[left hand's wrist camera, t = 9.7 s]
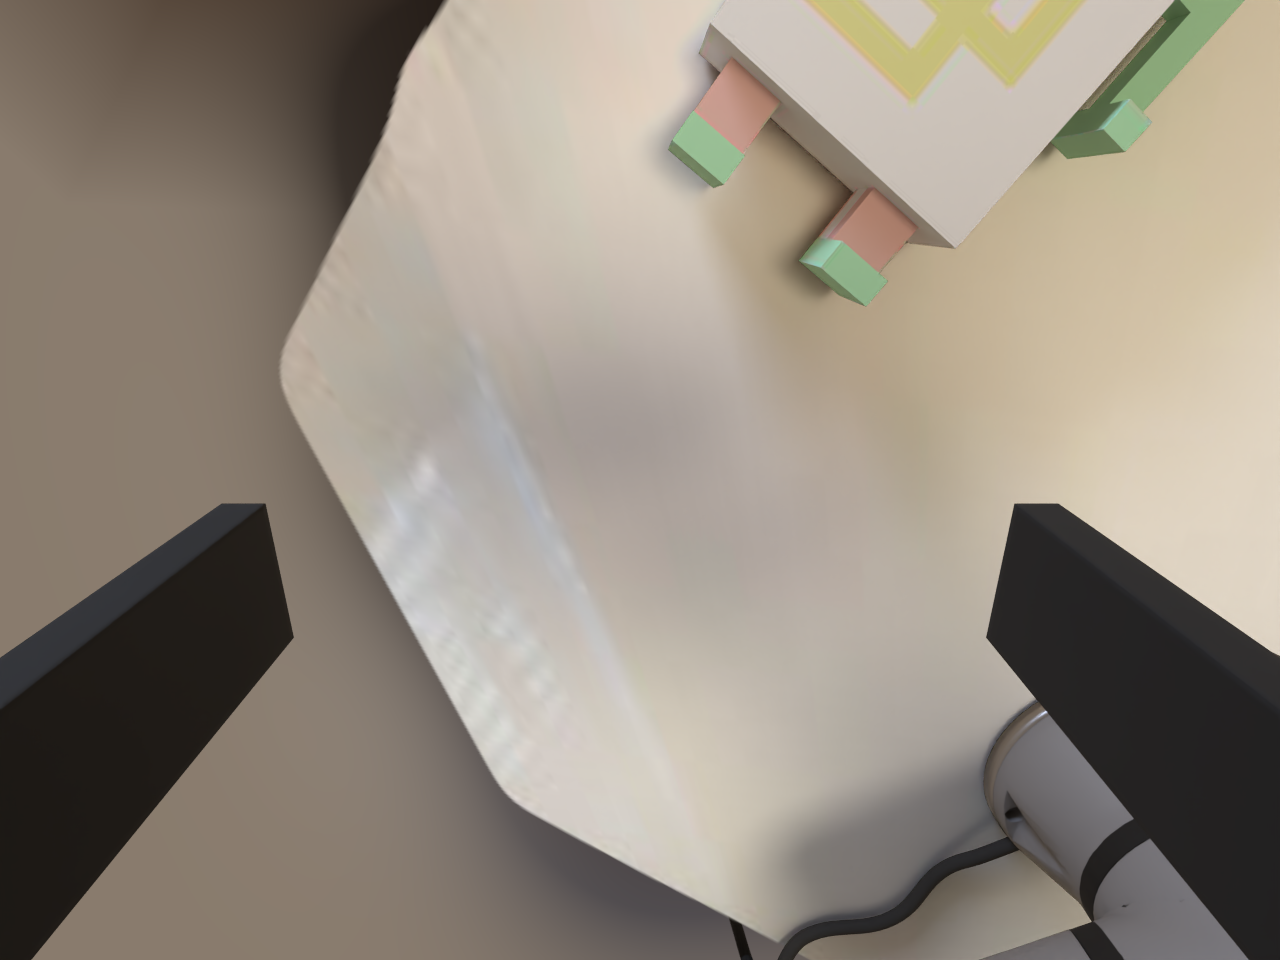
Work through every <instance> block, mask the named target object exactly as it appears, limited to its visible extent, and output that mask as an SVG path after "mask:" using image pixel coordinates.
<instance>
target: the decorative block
mask: <svg viewBox="0 0 1280 960" xmlns="http://www.w3.org/2000/svg"><path fill="white" fill-rule="evenodd" d="M1243 2H1244V0H726V1H725V2H724V4H723V5H722V6H721V8H720V9H719V11H718V12H717V14H716V15H715V17H714V18H713V20H712V21H711V23H710V25H709V28H708V30H707V33H706V36H705V38H704V41H703V44H702V46H701V49H700V52H699V54H700V55H701V56H703V57H704V58H705V59H706V60H707V61H708V62H709V63H710V64H711V65H713V66H714V67H715V68H716V69H717V70H718V71H719V72H720V74H719V76H718V77H717V79H716V80H715V82H714V83H713V84H712V86H711V87H710V89H709V90H708V92H707V93H706V94H705V96H704V97H703V99H702V100H701V101H700V103H699V104H698V106H697V107H696V109H695V110H693V111H692V113H691V114H690V116H689V117H688V119H687V120H686V121H685V123H684V124H683V126H682V127H681V128H680V130H679V131H678V133H677V134H676V136H675V137H674V138H673V140H672V142H671V144H670V146H669V149H668V150H669V151H670V152H672V153H673V154H674V155H675V156H676V157H678V158H679V159H680V160H681V161H682V162H683V163H685V164H686V165H687V166H688V167H689V168H690V169H692V170H693V171H694V172H695V173H696V174H697V175H699V176H700V177H701V178H702V179H703V180H704V181H706V182H707V183H708V184H709V185H710V186H712V187H713V188H714V187H717V186H720V185H723V184H724V183H725V182H726V181H727V179H728V178H729V177H730V175H731V174H732V173H733V171H734V170H735V169H736V167H737V166H738V164H739V163H740V162H741V160H742V159H743V158H744V156H745V155H744V154H743V153H744V152H745V151H746V149H747V148H748V146H749V145H750V144H751V142H752V141H753V140H754V138H755V137H756V136H757V134H758V133H759V132H760V130H761V129H762V128H763V126H764V125H765V124H766V122H767V121H768V119H769V118H771V119H772V120H773V121H775V122H776V123H777V124H778V125H779V126H780V127H781V128H782V129H783V130H785V131H786V132H787V133H788V134H789V135H790V136H791V137H792V138H793V139H795V140H796V141H797V142H798V143H799V144H800V145H801V146H802V147H803V148H805V149H806V150H807V151H808V152H809V153H810V154H811V155H812V156H813V157H815V158H816V159H817V160H818V161H819V162H820V163H821V164H822V165H823V166H824V167H826V168H827V169H828V170H829V171H830V172H831V173H832V174H833V175H834V176H836V177H837V178H838V179H839V180H840V181H841V182H842V183H843V184H844V185H846V186H847V187H848V188H849V189H850V190H851V191H852V192H853V194H852V195H851V197H850V198H849V199H848V200H847V202H846V203H845V204H844V205H843V207H842V208H841V209H840V210H839V211H838V213H837V214H836V215H835V216H834V218H833V219H832V220H831V221H830V223H829V224H828V225H827V226H826V228H825V229H824V230H823V231H822V233H821V234H820V235H819V236H818V237H817V239H816V240H815V241H814V242H813V244H812V245H811V246H810V247H809V249H808V250H807V251H806V252H805V254H804V255H803V256H802V257H801V259H800V260H799V261H800V262H801V263H802V264H803V265H804V266H805V267H807V268H808V269H809V270H810V271H811V272H812V273H814V274H815V275H816V276H817V277H818V278H819V279H821V280H822V281H823V282H824V283H825V284H826V285H828V286H829V287H830V288H831V289H832V290H834V291H835V292H836V293H837V294H838V295H840V296H842V297H844V298H847V299H849V300H852V301H854V302H856V303H859V304H861V305H864V306H867V305H868V304H869V303H870V301H871V300H872V299H873V298H874V297H875V296H876V294H877V293H878V292H879V291H880V290H881V289H882V288H883V286H884V285H885V284H886V283H887V282H888V281H887V280H886V279H885V278H884V277H883V276H882V275H881V274H879V273H880V272H881V271H882V270H883V268H884V267H885V266H886V265H887V264H888V263H889V261H890V260H891V259H892V258H893V257H894V256H895V254H896V253H897V252H898V251H899V250H900V249H901V247H902V246H903V245H904V244H905V243H906V241H908V242H909V243H910V244H919V245H928V246H937V247H945V248H954V249H956V248H957V247H958V246H959V245H960V243H961V242H962V241H963V240H964V239H965V238H966V237H967V236H968V234H969V233H970V232H971V231H972V230H973V229H974V228H975V226H976V225H977V224H978V223H979V222H980V221H981V220H982V218H983V217H984V216H985V215H986V214H987V213H988V212H989V211H990V209H991V208H992V207H993V206H994V205H995V204H996V203H997V201H998V200H999V199H1000V198H1001V197H1002V196H1003V195H1004V194H1005V192H1006V191H1007V190H1008V189H1009V188H1010V187H1011V186H1012V184H1013V183H1014V182H1015V181H1016V180H1017V179H1018V178H1019V176H1020V175H1021V174H1022V173H1023V172H1024V171H1025V170H1026V169H1027V167H1028V166H1029V165H1030V164H1031V163H1032V162H1033V161H1034V159H1035V158H1036V157H1037V156H1038V155H1039V154H1040V153H1041V151H1042V150H1043V149H1044V148H1045V147H1046V146H1047V145H1048V144H1049V142H1051V143H1052V144H1053V145H1054V146H1055V147H1056V148H1057V149H1058V150H1059V151H1060V152H1061V153H1062V154H1063V155H1064V156H1065V157H1066V158H1067V159H1072V158H1080V157H1088V156H1096V155H1104V154H1112V153H1120V152H1125V151H1126V150H1127V149H1128V148H1129V147H1130V146H1131V145H1132V144H1133V143H1134V142H1135V140H1136V139H1137V138H1138V137H1139V136H1140V135H1141V134H1142V133H1143V132H1144V131H1145V130H1146V128H1147V127H1148V126H1149V125H1150V124H1151V123H1152V121H1151V120H1150V119H1149V118H1148V117H1147V116H1146V115H1145V114H1144V113H1143V111H1144V110H1145V109H1146V108H1147V107H1148V106H1149V105H1150V104H1151V103H1152V101H1153V100H1154V99H1155V98H1156V97H1157V96H1158V95H1159V94H1160V93H1161V92H1162V90H1163V89H1164V88H1165V87H1166V86H1167V85H1168V84H1169V83H1170V82H1171V81H1172V79H1173V78H1174V77H1175V76H1176V75H1177V74H1178V73H1179V72H1180V71H1181V70H1182V68H1183V67H1184V66H1185V65H1186V64H1187V63H1188V62H1189V61H1190V60H1191V59H1192V58H1193V56H1194V55H1195V54H1196V53H1197V52H1198V51H1199V50H1200V49H1201V48H1202V47H1203V45H1204V44H1205V43H1206V42H1207V41H1208V40H1209V39H1210V38H1211V37H1212V36H1213V34H1214V33H1215V32H1216V31H1217V30H1218V29H1219V28H1220V27H1221V26H1222V25H1223V24H1224V22H1225V21H1226V20H1227V19H1228V18H1229V17H1230V16H1231V15H1232V14H1233V13H1234V11H1235V10H1236V9H1237V8H1238V7H1239V6H1240V5H1241V4H1242V3H1243ZM1161 15H1162V17H1163V18H1164V19H1165V20H1166V23H1165V24H1164V25H1163V26H1162V27H1161V28H1160V29H1159V30H1158V32H1157V33H1156V34H1155V35H1154V36H1153V37H1152V38H1151V39H1150V41H1149V42H1148V43H1147V44H1146V45H1145V46H1144V47H1143V49H1142V50H1141V51H1140V52H1139V53H1138V54H1137V55H1136V56H1135V58H1134V59H1133V60H1132V61H1131V62H1130V63H1129V64H1128V65H1127V67H1126V68H1125V69H1124V70H1123V71H1122V72H1121V73H1120V74H1119V76H1118V77H1117V78H1116V79H1115V80H1114V81H1113V82H1112V84H1111V85H1110V86H1109V87H1108V88H1107V89H1106V90H1105V91H1104V93H1103V94H1102V95H1101V96H1100V97H1099V98H1098V99H1097V100H1096V102H1095V103H1094V104H1093V105H1092V106H1091V107H1090V108H1089V109H1085V110H1081V111H1078V109H1079V108H1080V107H1081V106H1082V105H1083V104H1084V103H1085V102H1086V100H1087V99H1088V98H1089V97H1090V96H1091V95H1092V94H1093V92H1094V91H1095V90H1096V89H1097V88H1098V87H1099V86H1100V84H1101V83H1102V82H1103V81H1104V80H1105V79H1106V78H1107V77H1108V75H1109V74H1110V73H1111V72H1112V71H1113V70H1114V69H1115V67H1116V66H1117V65H1118V64H1119V63H1120V62H1121V61H1122V59H1123V58H1124V57H1125V56H1126V55H1127V54H1128V53H1129V52H1130V50H1131V49H1132V48H1133V47H1134V46H1135V45H1136V44H1137V42H1138V41H1139V40H1140V39H1141V38H1142V37H1143V36H1144V35H1145V33H1146V32H1147V31H1148V30H1149V29H1150V28H1151V27H1152V25H1153V24H1154V23H1155V22H1156V21H1157V20H1158V19H1159V17H1160V16H1161Z"/></svg>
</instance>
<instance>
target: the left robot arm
mask: <svg viewBox="0 0 1280 960" xmlns="http://www.w3.org/2000/svg"><path fill="white" fill-rule="evenodd" d="M293 638H294V636H293V632H292V627H291V622H290V617H289V613H288V608H287V603H286V598H285V594H284V589H283V584H282V580H281V575H280V570H279V565H278V561H277V556H276V551H275V546H274V542H273V537H272V532H271V528H270V523H269V518H268V513H267V509H266V504H221V505H219V506H218V507H216V508H215V509H213V510H212V511H210V512H209V513H208V514H206V515H205V516H203V517H202V518H200V519H199V520H198V521H196V522H195V523H193V524H192V525H190V526H189V527H188V528H186V529H185V530H183V531H182V532H180V533H179V534H177V535H176V536H175V537H173V538H172V539H170V540H169V541H167V542H166V543H164V544H163V545H162V546H160V547H159V548H157V549H156V550H154V551H153V552H152V553H150V554H149V555H147V556H146V557H144V558H143V559H141V560H140V561H139V562H137V563H136V564H134V565H133V566H131V567H130V568H129V569H127V570H126V571H124V572H123V573H121V574H120V575H119V576H117V577H116V578H114V579H113V580H111V581H110V582H108V583H107V584H106V585H104V586H103V587H101V588H100V589H98V590H97V591H95V592H94V593H93V594H91V595H90V596H88V597H87V598H85V599H84V600H83V601H81V602H80V603H78V604H77V605H75V606H74V607H73V608H71V609H70V610H68V611H67V612H65V613H64V614H63V615H61V616H60V617H58V618H57V619H55V620H54V621H52V622H51V623H50V624H48V625H47V626H45V627H44V628H42V629H41V630H40V631H38V632H37V633H35V634H34V635H32V636H31V637H29V638H28V639H27V640H25V641H24V642H22V643H21V644H19V645H18V646H16V647H15V648H14V649H12V650H11V651H9V652H8V653H6V654H5V655H4V656H2V657H1V658H0V960H31V959H32V958H33V957H34V956H35V955H36V953H37V952H38V951H39V950H40V948H41V947H42V946H43V945H44V944H45V942H46V941H47V940H48V939H49V937H50V936H51V935H52V934H53V932H54V931H55V930H56V929H57V928H58V926H59V925H60V924H61V923H62V921H63V920H64V919H65V918H66V917H67V915H68V914H69V913H70V912H71V910H72V909H73V908H74V907H75V905H76V904H77V903H78V902H79V901H80V899H81V898H82V897H83V896H84V894H85V893H86V892H87V891H88V890H89V888H90V887H91V886H92V885H93V883H94V882H95V881H96V880H97V878H98V877H99V876H100V875H101V874H102V872H103V871H104V870H105V869H106V867H107V866H108V865H109V864H110V862H111V861H112V860H113V859H114V858H115V856H116V855H117V854H118V853H119V851H120V850H121V849H122V848H123V847H124V845H125V844H126V843H127V842H128V840H129V839H130V838H131V837H132V835H133V834H134V833H135V832H136V831H137V829H138V828H139V827H140V826H141V824H142V823H143V822H144V821H145V819H146V818H147V817H148V816H149V815H150V813H151V812H152V811H153V810H154V808H155V807H156V806H157V805H158V804H159V802H160V801H161V800H162V799H163V797H164V796H165V795H166V794H167V793H168V791H169V790H170V789H171V788H172V786H173V785H174V784H175V783H176V781H177V780H178V779H179V778H180V777H181V775H182V774H183V773H184V772H185V770H186V769H187V768H188V767H189V765H190V764H191V763H192V762H193V761H194V759H195V758H196V757H197V756H198V754H199V753H200V752H201V751H202V750H203V748H204V747H205V746H206V745H207V743H208V742H209V741H210V740H211V739H212V737H213V736H214V735H215V734H216V732H217V731H218V730H219V729H220V727H221V726H222V725H223V724H224V723H225V721H226V720H227V719H228V718H229V716H230V715H231V714H232V713H233V712H234V710H235V709H236V708H237V707H238V705H239V704H240V703H241V702H242V700H243V699H244V698H245V697H246V696H247V694H248V693H249V692H250V691H251V689H252V688H253V687H254V686H255V684H256V683H257V682H258V681H259V680H260V678H261V677H262V676H263V675H264V673H265V672H266V671H267V670H268V669H269V667H270V666H271V665H272V664H273V662H274V661H275V660H276V659H277V658H278V656H279V655H280V654H281V653H282V651H283V650H284V649H285V648H286V646H287V645H288V644H289V643H290V642H291V640H292V639H293ZM986 638H987V639H988V640H989V642H990V643H991V644H992V645H993V646H994V648H995V649H996V650H997V651H998V653H999V654H1000V655H1001V656H1002V658H1003V659H1004V660H1005V661H1006V662H1007V664H1008V665H1009V666H1010V667H1011V669H1012V670H1013V671H1014V672H1015V673H1016V675H1017V676H1018V677H1019V678H1020V680H1021V681H1022V682H1023V683H1024V685H1025V686H1026V687H1027V688H1028V689H1029V691H1030V692H1031V693H1032V694H1033V696H1034V697H1035V698H1036V699H1037V700H1038V702H1037V703H1036V704H1034V705H1033V706H1031V707H1030V708H1028V709H1027V710H1026V711H1024V712H1023V713H1022V714H1021V715H1019V716H1018V717H1017V718H1016V719H1015V720H1014V721H1013V722H1012V723H1011V724H1010V725H1009V726H1008V727H1007V728H1006V729H1005V731H1004V732H1003V733H1002V734H1001V736H1000V737H999V739H998V740H997V742H996V743H995V745H994V747H993V748H992V751H991V753H990V755H989V757H988V760H987V763H986V767H985V772H984V792H985V797H986V800H987V803H988V806H989V808H990V810H991V812H992V813H993V815H994V817H995V818H996V820H997V822H998V824H999V825H1000V827H1001V828H1002V830H1003V831H1004V833H1005V834H1006V835H1007V836H1008V837H1006V838H1004V839H1001V840H999V841H996V842H994V843H991V844H988V845H986V846H983V847H980V848H978V849H975V850H972V851H968V852H965V853H961V854H958V855H955V856H952V857H949V858H947V859H945V860H944V861H942V862H940V863H939V864H937V865H936V866H934V867H933V868H932V869H931V870H929V871H928V872H927V873H926V874H925V875H924V876H923V878H922V879H921V880H920V881H919V882H918V884H917V885H916V886H915V888H914V889H913V890H912V892H911V893H910V894H909V895H908V896H907V898H906V899H905V900H904V901H903V902H902V903H900V904H899V905H898V906H897V907H895V908H894V909H892V910H890V911H888V912H886V913H884V914H881V915H878V916H875V917H870V918H864V919H855V920H840V921H830V922H824V923H819V924H816V925H813V926H810V927H807V928H805V929H803V930H801V931H800V932H798V933H797V934H795V935H794V936H793V937H792V938H791V939H790V940H789V941H788V943H787V944H786V945H785V947H784V949H783V950H782V952H781V954H780V956H779V958H778V960H793V959H794V958H795V956H796V955H797V953H798V952H799V951H800V950H801V949H802V948H803V947H804V946H805V945H807V944H808V943H810V942H812V941H814V940H817V939H820V938H824V937H828V936H835V935H848V934H862V933H870V932H876V931H880V930H883V929H887V928H889V927H892V926H894V925H896V924H898V923H900V922H901V921H903V920H905V919H906V918H907V917H909V916H910V915H911V914H912V913H913V912H914V911H915V910H916V909H917V908H918V907H919V906H920V905H921V904H922V903H923V901H924V900H925V899H926V898H927V896H928V895H929V894H930V892H931V891H932V890H933V889H934V888H935V887H936V885H937V884H938V883H939V882H941V881H942V880H943V879H944V878H946V877H947V876H949V875H950V874H952V873H954V872H956V871H959V870H962V869H965V868H969V867H973V866H976V865H980V864H983V863H986V862H989V861H991V860H994V859H997V858H999V857H1002V856H1005V855H1007V854H1010V853H1013V852H1015V851H1018V850H1021V851H1022V852H1023V853H1024V854H1025V855H1026V856H1027V857H1028V858H1030V859H1031V860H1032V861H1033V862H1034V863H1035V864H1036V865H1037V866H1039V867H1040V868H1041V869H1042V870H1043V871H1044V872H1045V873H1046V874H1048V875H1049V876H1050V877H1051V878H1052V879H1053V880H1054V881H1055V882H1057V883H1058V884H1059V885H1060V886H1061V887H1062V888H1063V889H1064V890H1066V891H1067V892H1068V893H1069V894H1070V895H1071V896H1072V897H1073V898H1075V899H1076V900H1077V901H1078V902H1079V903H1080V904H1081V905H1082V907H1083V908H1084V910H1085V912H1086V913H1087V915H1088V916H1089V918H1090V919H1091V921H1092V922H1091V923H1088V924H1085V925H1082V926H1079V927H1076V928H1073V929H1069V930H1066V931H1063V932H1060V933H1057V934H1054V935H1051V936H1049V937H1046V938H1043V939H1040V940H1037V941H1034V942H1031V943H1028V944H1025V945H1023V946H1020V947H1017V948H1014V949H1011V950H1008V951H1005V952H1001V953H998V954H995V955H992V956H989V957H986V958H983V959H980V960H1280V656H1279V655H1277V654H1275V653H1272V652H1271V651H1269V650H1268V649H1266V648H1265V647H1264V646H1262V645H1261V644H1259V643H1258V642H1256V641H1255V640H1253V639H1252V638H1251V637H1249V636H1248V635H1246V634H1245V633H1243V632H1242V631H1241V630H1239V629H1238V628H1236V627H1235V626H1233V625H1232V624H1230V623H1229V622H1228V621H1226V620H1225V619H1223V618H1222V617H1220V616H1219V615H1218V614H1216V613H1215V612H1213V611H1212V610H1210V609H1209V608H1207V607H1206V606H1205V605H1203V604H1202V603H1200V602H1199V601H1197V600H1196V599H1195V598H1193V597H1192V596H1190V595H1189V594H1187V593H1186V592H1184V591H1183V590H1182V589H1180V588H1179V587H1177V586H1176V585H1174V584H1173V583H1172V582H1170V581H1169V580H1167V579H1166V578H1164V577H1163V576H1162V575H1160V574H1159V573H1157V572H1156V571H1154V570H1153V569H1151V568H1150V567H1149V566H1147V565H1146V564H1144V563H1143V562H1141V561H1140V560H1139V559H1137V558H1136V557H1134V556H1133V555H1131V554H1130V553H1128V552H1127V551H1126V550H1124V549H1123V548H1121V547H1120V546H1118V545H1117V544H1116V543H1114V542H1113V541H1111V540H1110V539H1108V538H1107V537H1105V536H1104V535H1103V534H1101V533H1100V532H1098V531H1097V530H1095V529H1094V528H1093V527H1091V526H1090V525H1088V524H1087V523H1085V522H1084V521H1082V520H1081V519H1080V518H1078V517H1077V516H1075V515H1074V514H1072V513H1071V512H1070V511H1068V510H1067V509H1065V508H1064V507H1062V506H1061V505H1060V504H1014V509H1013V513H1012V518H1011V523H1010V528H1009V532H1008V537H1007V542H1006V546H1005V551H1004V556H1003V561H1002V565H1001V570H1000V575H999V580H998V584H997V589H996V594H995V598H994V603H993V608H992V613H991V617H990V622H989V627H988V632H987V636H986ZM728 917H729V916H728ZM729 921H730V924H731V927H732V931H733V934H734V938H735V941H736V945H737V949H738V952H739V955H740V958H741V960H753V958H752V955H751V952H750V949H749V946H748V943H747V939H746V936H745V932H744V929H743V926H742V923H740V922H738V921H736V920H734V919H732V918H731V917H729Z"/></svg>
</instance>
